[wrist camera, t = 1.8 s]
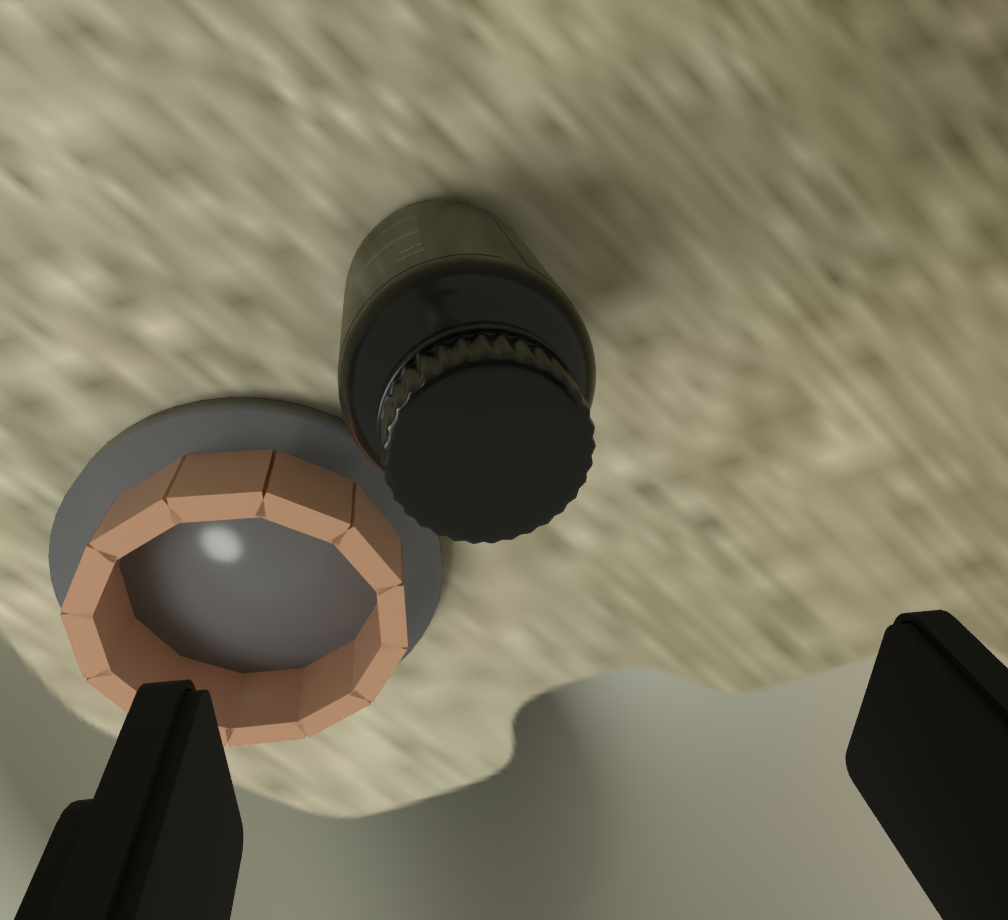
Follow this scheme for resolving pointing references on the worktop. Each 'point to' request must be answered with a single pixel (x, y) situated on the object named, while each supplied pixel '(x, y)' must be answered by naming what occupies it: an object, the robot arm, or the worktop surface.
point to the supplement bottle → (465, 373)
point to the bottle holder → (242, 566)
